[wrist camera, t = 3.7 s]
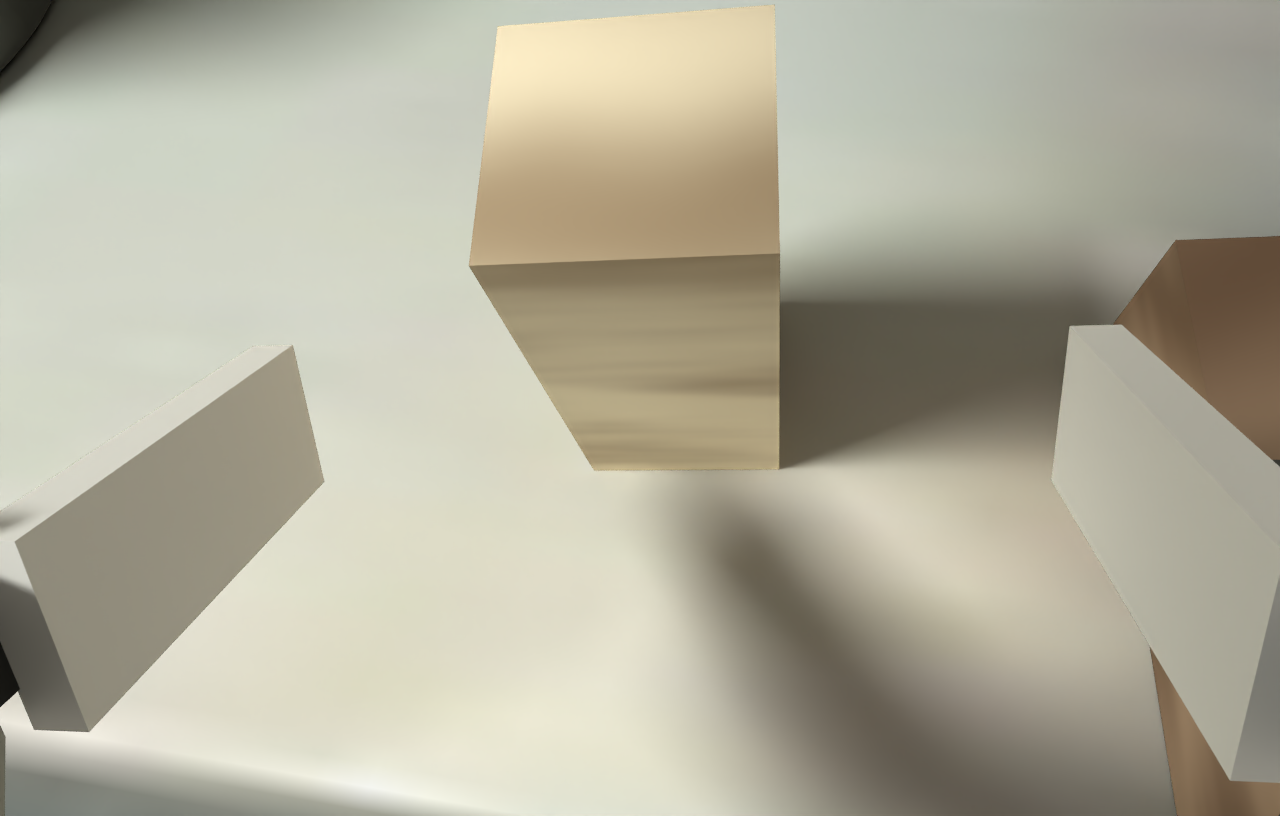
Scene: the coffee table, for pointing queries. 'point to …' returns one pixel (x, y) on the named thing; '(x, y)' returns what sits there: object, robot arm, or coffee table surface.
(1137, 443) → the robot arm
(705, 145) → the beech block
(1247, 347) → the walnut block
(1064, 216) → the coffee table surface
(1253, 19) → the coffee table surface
